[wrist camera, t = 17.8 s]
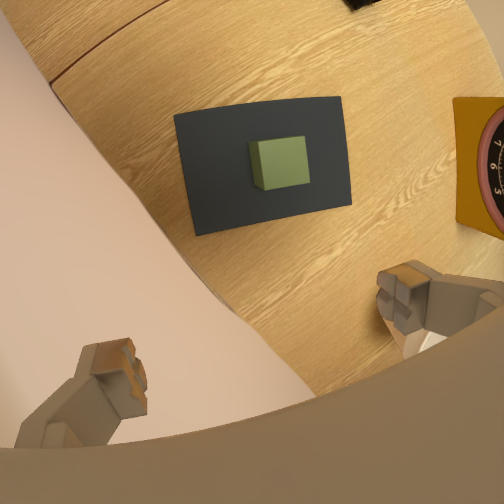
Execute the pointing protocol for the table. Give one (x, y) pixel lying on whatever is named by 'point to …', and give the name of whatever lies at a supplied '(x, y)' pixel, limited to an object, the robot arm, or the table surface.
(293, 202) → the mat
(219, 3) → the table surface
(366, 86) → the table surface
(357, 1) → the tape measure
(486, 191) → the alarm clock
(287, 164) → the green block
